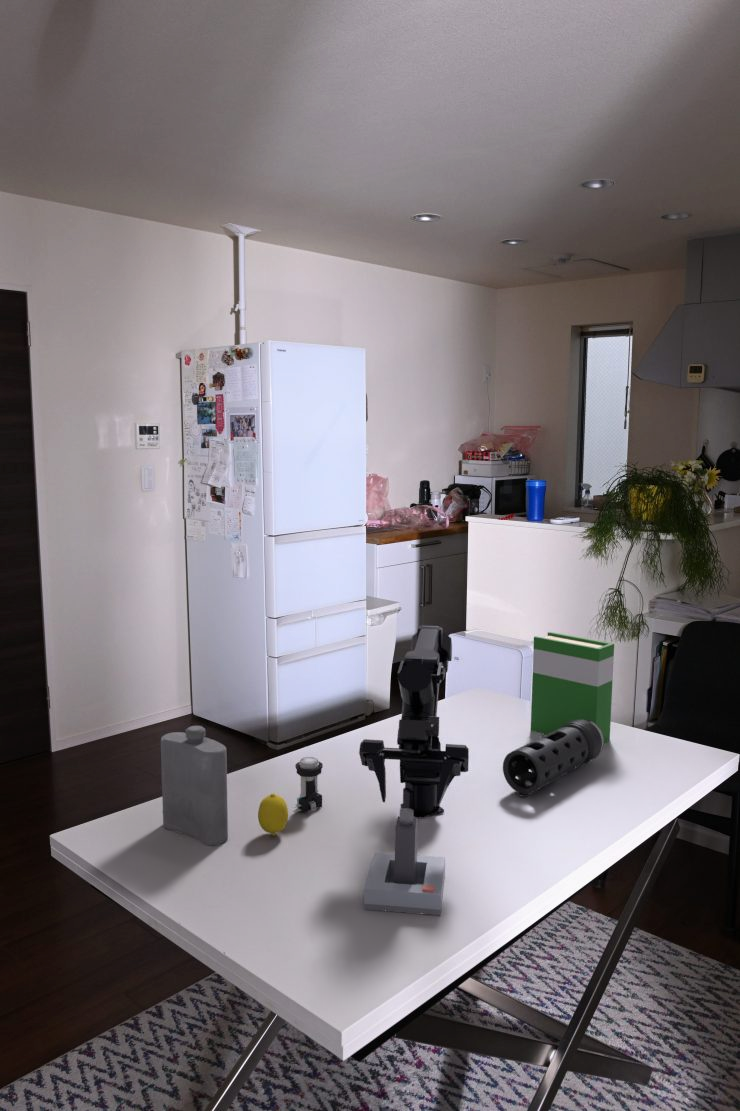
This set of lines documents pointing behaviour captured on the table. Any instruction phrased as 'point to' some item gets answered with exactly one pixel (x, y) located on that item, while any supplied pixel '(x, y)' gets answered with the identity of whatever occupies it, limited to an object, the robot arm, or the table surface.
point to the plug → (406, 848)
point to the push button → (308, 784)
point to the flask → (195, 785)
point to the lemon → (273, 814)
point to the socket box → (405, 886)
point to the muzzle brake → (552, 756)
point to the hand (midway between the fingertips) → (410, 803)
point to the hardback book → (571, 682)
